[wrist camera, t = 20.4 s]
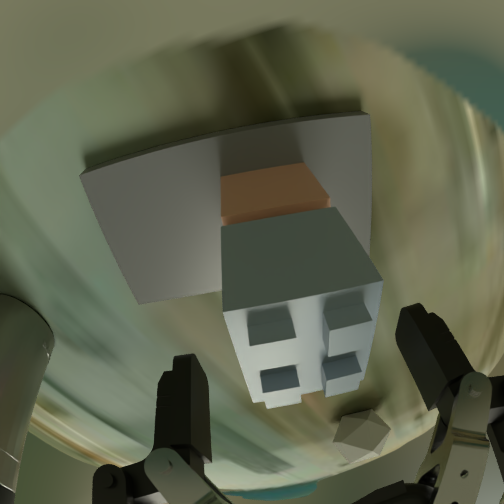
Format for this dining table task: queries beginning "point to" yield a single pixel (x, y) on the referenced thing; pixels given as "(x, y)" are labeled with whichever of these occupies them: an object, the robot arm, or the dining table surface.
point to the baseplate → (218, 195)
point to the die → (361, 436)
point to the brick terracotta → (270, 193)
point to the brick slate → (299, 304)
